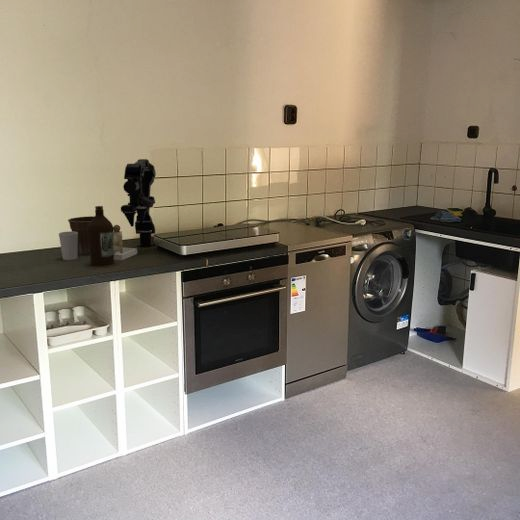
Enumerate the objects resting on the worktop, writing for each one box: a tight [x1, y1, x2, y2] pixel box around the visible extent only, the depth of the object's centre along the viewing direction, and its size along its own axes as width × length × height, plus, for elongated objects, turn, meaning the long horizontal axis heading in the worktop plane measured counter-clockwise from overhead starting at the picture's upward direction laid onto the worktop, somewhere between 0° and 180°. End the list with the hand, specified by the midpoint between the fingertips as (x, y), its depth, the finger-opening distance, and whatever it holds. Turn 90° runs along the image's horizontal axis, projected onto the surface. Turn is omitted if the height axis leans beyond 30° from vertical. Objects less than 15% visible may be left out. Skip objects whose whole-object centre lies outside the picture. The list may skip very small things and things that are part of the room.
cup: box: [58, 230, 78, 261], centre depth 257 cm, size 8×8×12 cm
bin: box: [114, 247, 138, 261], centre depth 263 cm, size 14×12×3 cm
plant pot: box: [67, 215, 95, 255], centre depth 271 cm, size 16×16×16 cm
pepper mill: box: [113, 224, 124, 254], centre depth 262 cm, size 4×4×14 cm
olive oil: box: [87, 205, 115, 267], centre depth 246 cm, size 11×11×25 cm
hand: (137, 225), depth 271 cm, fingers open, 9 cm apart
